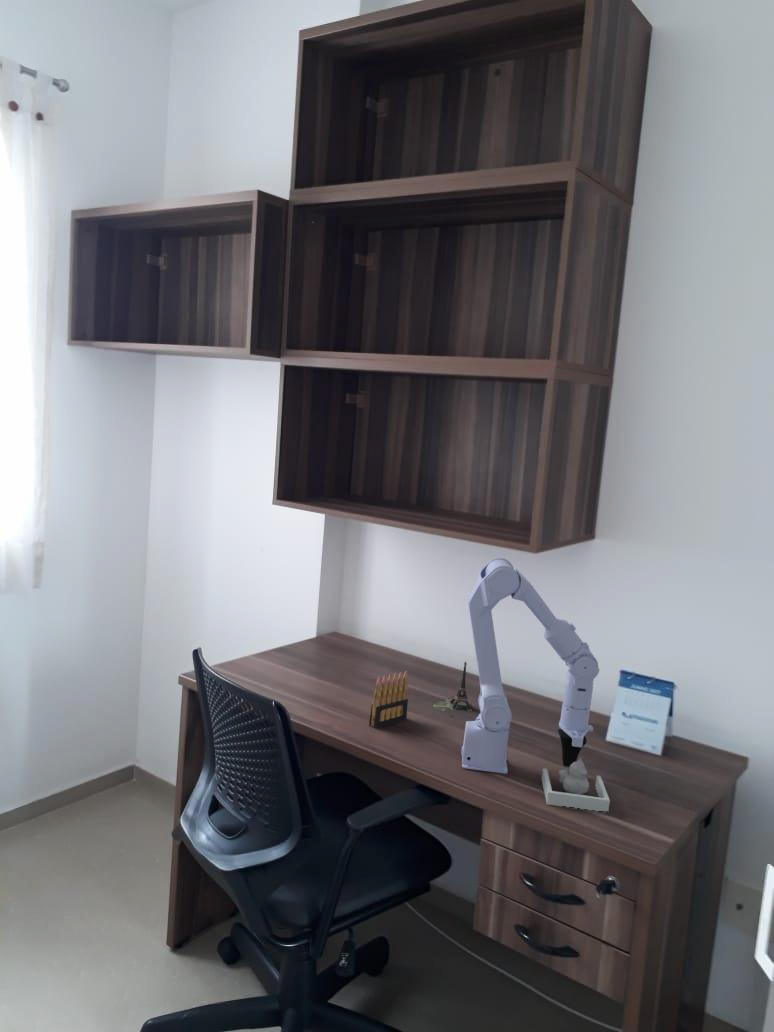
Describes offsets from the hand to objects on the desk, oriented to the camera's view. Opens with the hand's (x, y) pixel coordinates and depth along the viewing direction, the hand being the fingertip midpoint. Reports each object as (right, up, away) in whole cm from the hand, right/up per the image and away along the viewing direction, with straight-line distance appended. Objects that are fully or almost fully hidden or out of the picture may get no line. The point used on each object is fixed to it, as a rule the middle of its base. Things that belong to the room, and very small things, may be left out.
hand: (568, 765), depth 173 cm
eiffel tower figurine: (-20, +4, +34) cm, 40 cm away
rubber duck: (-1, -3, -9) cm, 9 cm away
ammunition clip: (-38, +4, +18) cm, 43 cm away
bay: (-1, -3, -10) cm, 10 cm away
